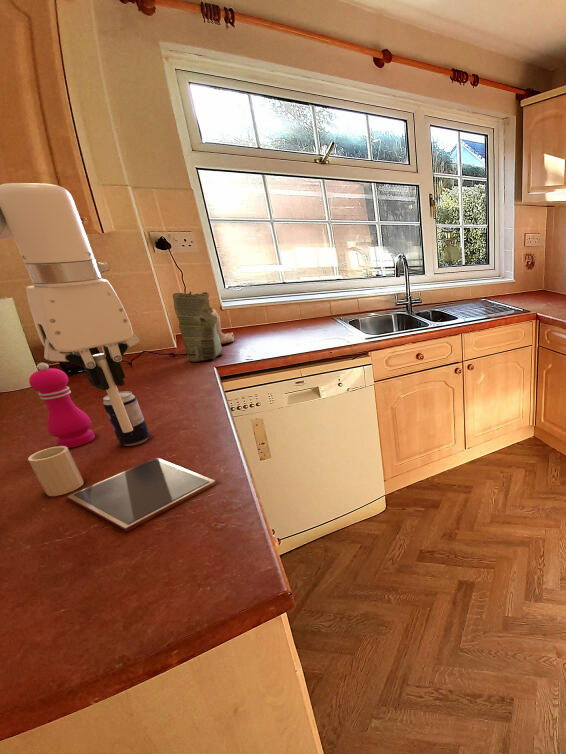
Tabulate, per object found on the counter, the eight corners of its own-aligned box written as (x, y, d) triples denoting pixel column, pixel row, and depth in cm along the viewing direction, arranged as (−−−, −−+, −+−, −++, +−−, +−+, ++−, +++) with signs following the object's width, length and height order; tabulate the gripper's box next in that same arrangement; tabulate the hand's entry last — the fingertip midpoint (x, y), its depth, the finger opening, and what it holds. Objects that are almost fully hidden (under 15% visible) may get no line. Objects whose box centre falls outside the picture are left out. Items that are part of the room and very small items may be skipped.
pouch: (188, 357, 160) (166, 291, 150) (225, 351, 167) (206, 287, 157) (190, 365, 152) (167, 295, 142) (228, 358, 159) (209, 291, 149)
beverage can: (143, 433, 104) (126, 389, 100) (156, 438, 102) (138, 392, 97) (115, 444, 99) (95, 398, 95) (128, 449, 97) (108, 402, 92)
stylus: (125, 433, 73) (94, 356, 68) (121, 431, 73) (90, 355, 68) (135, 429, 74) (105, 354, 69) (130, 428, 75) (101, 352, 69)
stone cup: (197, 352, 166) (185, 314, 161) (192, 346, 175) (180, 310, 169) (240, 344, 176) (230, 308, 170) (233, 338, 184) (224, 304, 178)
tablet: (126, 532, 72) (124, 527, 71) (68, 499, 80) (66, 495, 80) (216, 483, 84) (215, 480, 84) (158, 460, 93) (156, 456, 92)
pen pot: (53, 499, 80) (35, 463, 77) (41, 492, 82) (22, 456, 79) (89, 483, 85) (72, 449, 82) (76, 477, 87) (60, 443, 84)
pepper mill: (52, 444, 100) (14, 364, 93) (93, 431, 106) (59, 355, 98) (60, 452, 96) (20, 370, 89) (101, 439, 102) (67, 361, 94)
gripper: (116, 267, 72) (151, 368, 79) (-21, 279, 59) (36, 399, 66) (139, 269, 69) (174, 374, 75) (1, 282, 56) (58, 408, 63)
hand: (110, 385), depth 71 cm, fingers closed on stylus, 1 cm apart
